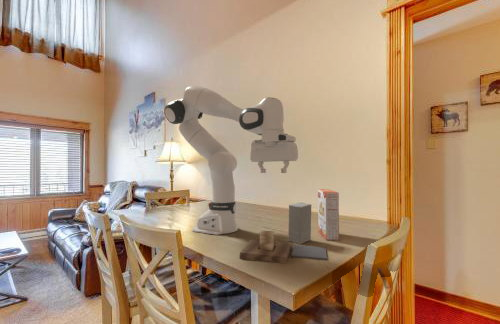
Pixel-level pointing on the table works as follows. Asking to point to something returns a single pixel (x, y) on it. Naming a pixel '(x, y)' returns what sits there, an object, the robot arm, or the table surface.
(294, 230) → the skincare box
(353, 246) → the table surface
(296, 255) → the rubber mat
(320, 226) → the cracker box
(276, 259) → the pocket plate
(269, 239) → the maple block
